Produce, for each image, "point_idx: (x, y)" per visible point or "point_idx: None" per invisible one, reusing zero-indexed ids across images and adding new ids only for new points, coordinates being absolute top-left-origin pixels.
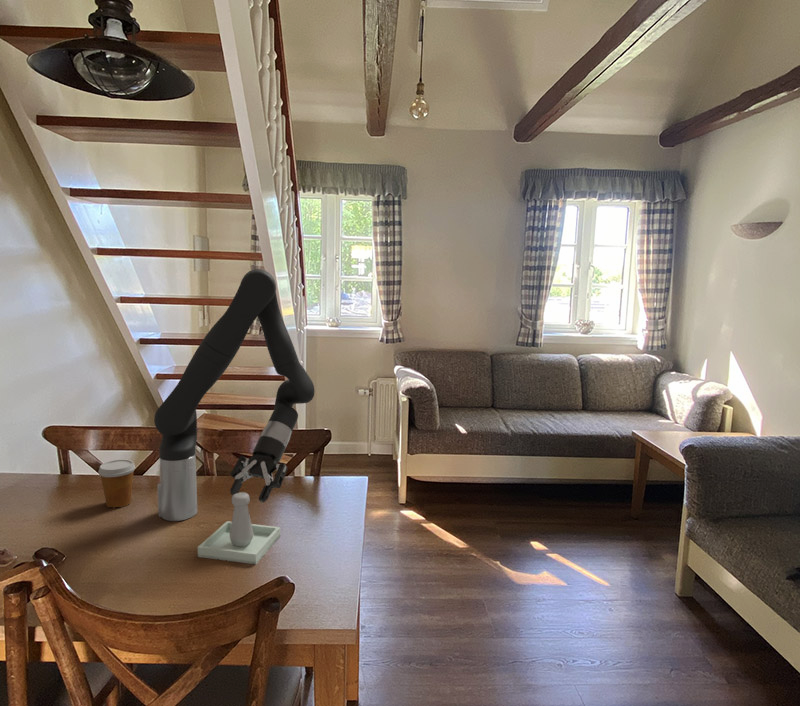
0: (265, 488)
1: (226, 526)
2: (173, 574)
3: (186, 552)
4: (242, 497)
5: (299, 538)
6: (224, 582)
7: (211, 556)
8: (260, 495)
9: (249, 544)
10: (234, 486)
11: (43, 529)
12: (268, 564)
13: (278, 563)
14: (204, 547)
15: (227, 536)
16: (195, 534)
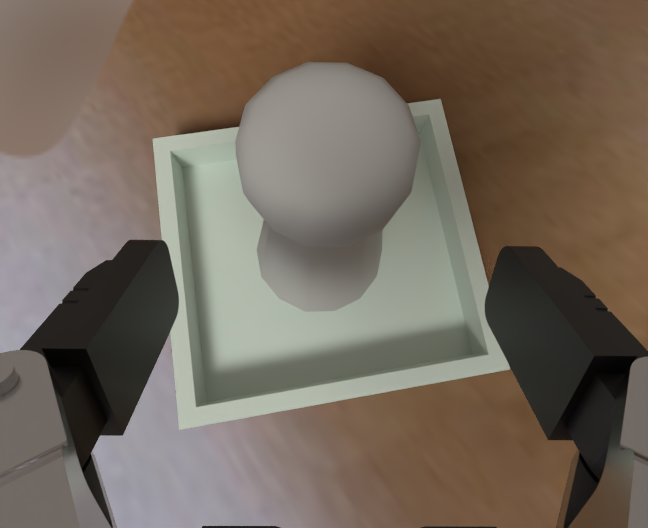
0: (66, 321)
1: (478, 334)
2: (417, 8)
3: (495, 135)
4: (269, 89)
5: None
6: (214, 29)
7: None
8: (138, 255)
9: None
10: (558, 288)
11: None
12: (121, 180)
13: (83, 202)
14: (409, 105)
15: (426, 291)
16: (586, 270)
